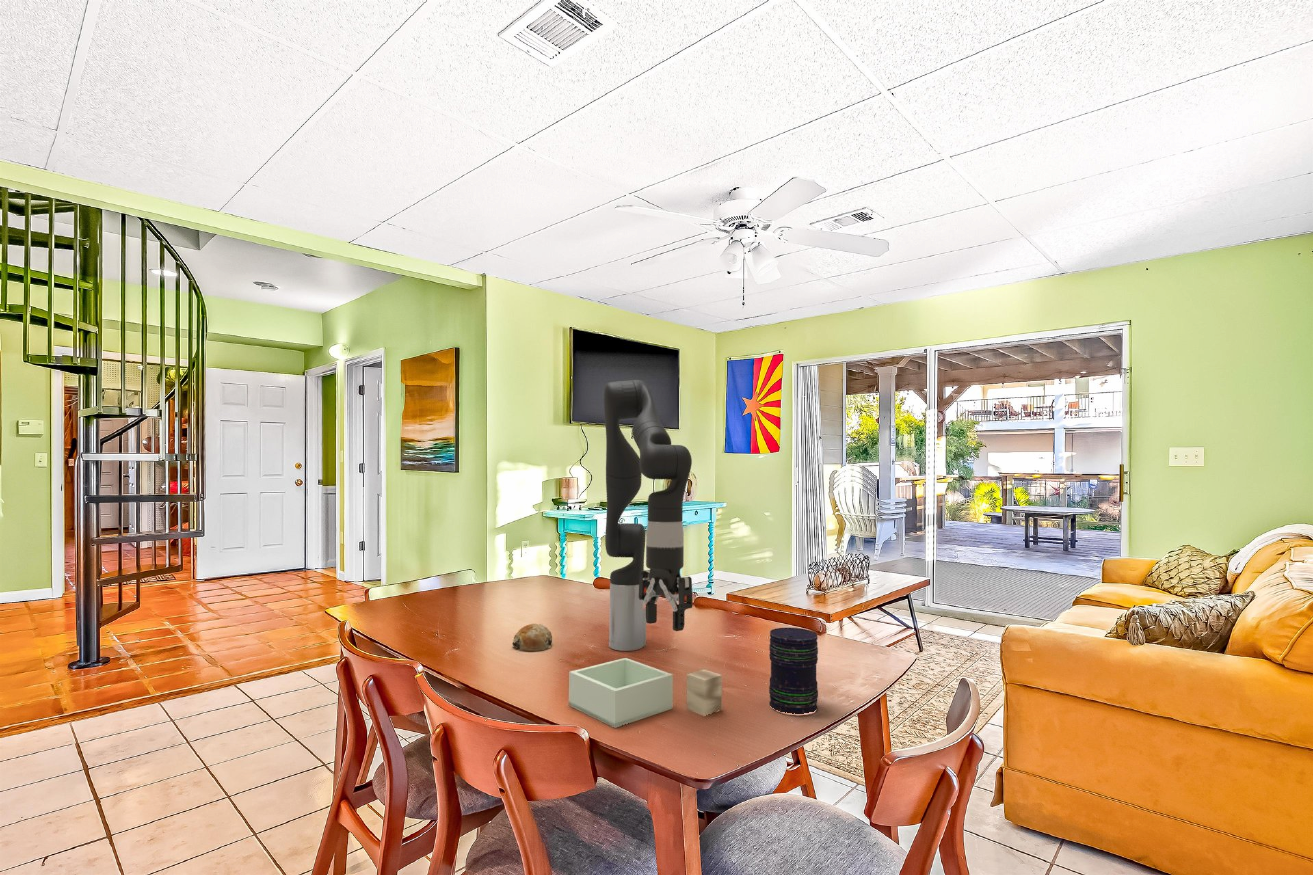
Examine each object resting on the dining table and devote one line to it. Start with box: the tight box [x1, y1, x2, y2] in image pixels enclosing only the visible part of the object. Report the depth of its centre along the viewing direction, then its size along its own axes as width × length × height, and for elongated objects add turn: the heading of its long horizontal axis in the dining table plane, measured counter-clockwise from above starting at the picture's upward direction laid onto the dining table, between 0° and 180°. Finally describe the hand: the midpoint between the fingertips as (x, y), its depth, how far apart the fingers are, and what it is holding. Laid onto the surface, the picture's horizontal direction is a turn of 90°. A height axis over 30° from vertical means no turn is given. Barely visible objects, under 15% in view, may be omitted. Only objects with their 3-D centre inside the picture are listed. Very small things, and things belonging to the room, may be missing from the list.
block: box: [686, 669, 723, 717], centre depth 131 cm, size 5×5×7 cm
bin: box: [568, 657, 674, 729], centre depth 132 cm, size 15×15×7 cm
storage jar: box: [768, 627, 819, 714], centre depth 133 cm, size 10×10×15 cm
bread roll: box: [512, 623, 553, 652], centre depth 174 cm, size 10×10×8 cm
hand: (664, 626), depth 128 cm, fingers open, 8 cm apart
